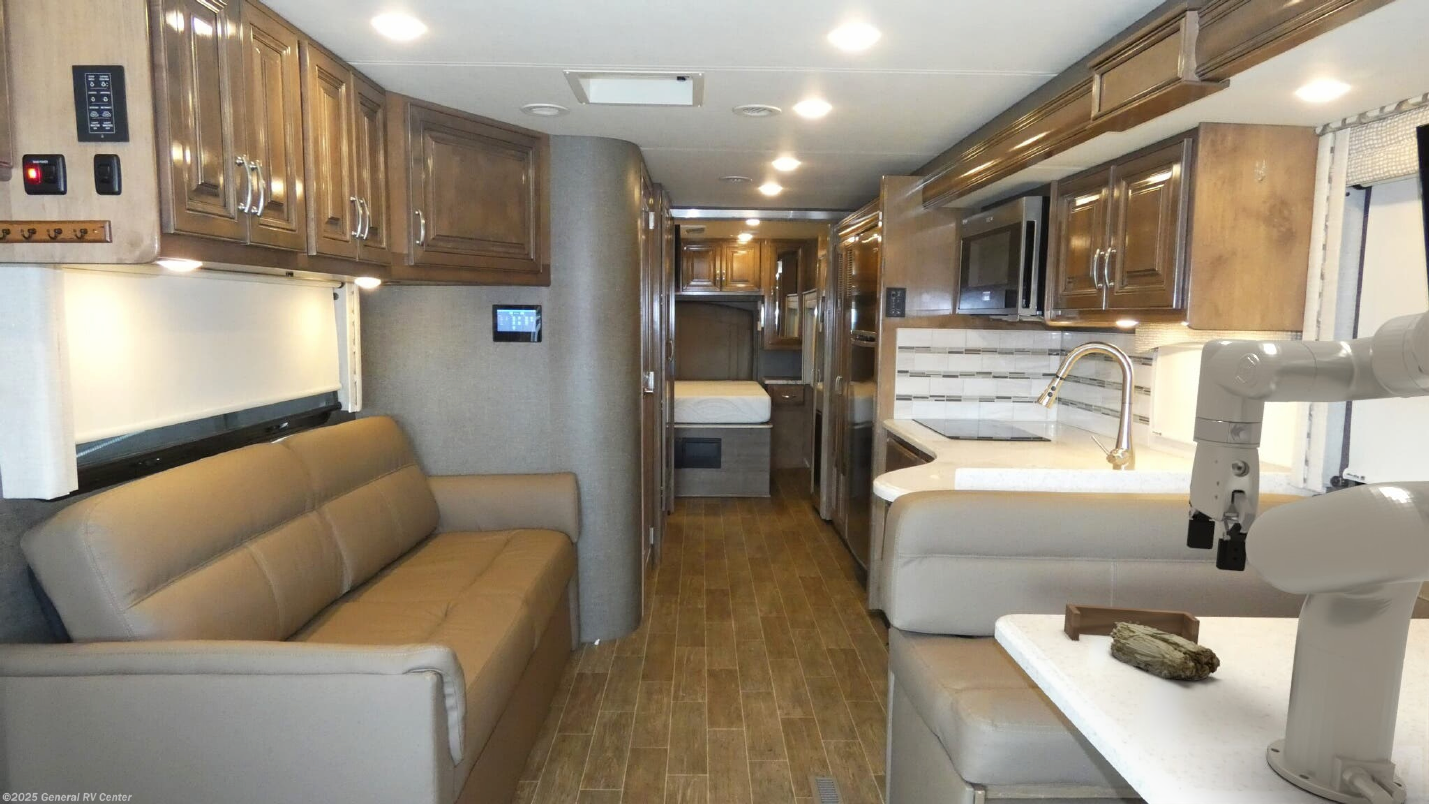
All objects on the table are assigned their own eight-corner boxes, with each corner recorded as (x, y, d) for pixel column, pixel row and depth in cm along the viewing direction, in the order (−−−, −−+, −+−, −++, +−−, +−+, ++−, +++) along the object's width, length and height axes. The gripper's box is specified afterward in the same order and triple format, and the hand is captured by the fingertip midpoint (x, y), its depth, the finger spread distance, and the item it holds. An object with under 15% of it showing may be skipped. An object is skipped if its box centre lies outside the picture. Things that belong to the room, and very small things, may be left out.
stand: (1197, 648, 127) (1199, 620, 127) (1072, 640, 129) (1074, 612, 129) (1185, 638, 131) (1187, 611, 131) (1064, 630, 133) (1066, 604, 133)
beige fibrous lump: (1225, 679, 117) (1229, 643, 117) (1187, 693, 113) (1191, 656, 112) (1131, 642, 130) (1134, 610, 129) (1094, 653, 125) (1096, 620, 124)
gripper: (1292, 445, 98) (1276, 582, 100) (1229, 425, 115) (1217, 542, 117) (1224, 441, 99) (1210, 576, 101) (1171, 422, 116) (1160, 538, 118)
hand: (1213, 558), depth 109 cm, fingers open, 9 cm apart
